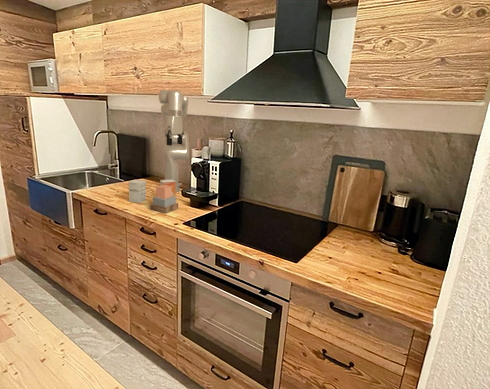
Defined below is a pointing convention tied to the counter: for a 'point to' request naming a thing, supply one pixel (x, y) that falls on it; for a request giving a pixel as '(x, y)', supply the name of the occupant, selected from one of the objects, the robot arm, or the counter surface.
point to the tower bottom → (163, 208)
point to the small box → (169, 183)
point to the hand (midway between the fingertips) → (174, 144)
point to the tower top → (164, 201)
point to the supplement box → (137, 191)
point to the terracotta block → (163, 191)
